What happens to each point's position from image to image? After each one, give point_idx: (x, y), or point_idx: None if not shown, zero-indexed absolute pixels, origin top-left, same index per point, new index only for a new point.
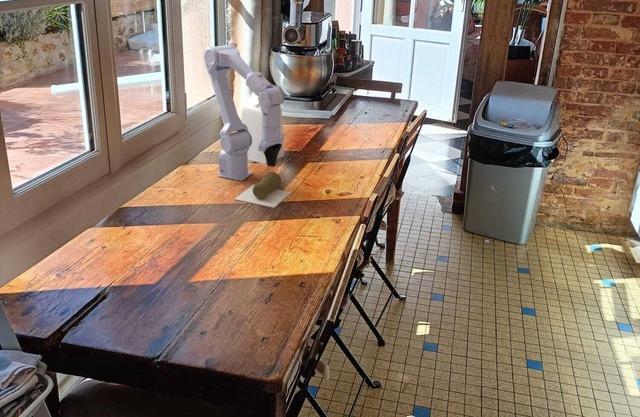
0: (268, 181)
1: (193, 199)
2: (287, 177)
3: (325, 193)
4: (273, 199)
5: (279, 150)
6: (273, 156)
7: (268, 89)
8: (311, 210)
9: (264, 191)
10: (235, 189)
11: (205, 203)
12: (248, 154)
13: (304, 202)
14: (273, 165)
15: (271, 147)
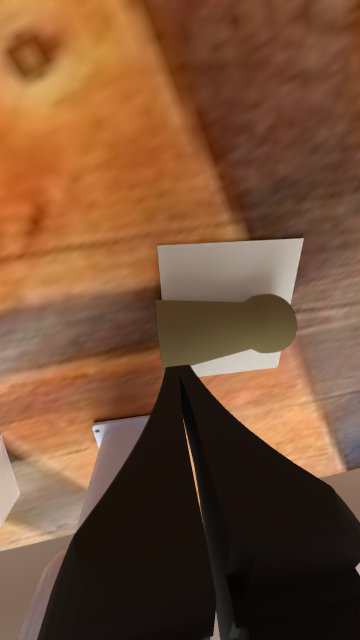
0: (236, 326)
1: (296, 425)
2: (37, 330)
3: (64, 61)
4: (246, 272)
5: (127, 467)
6: (237, 423)
7: None
8: (289, 52)
9: (287, 302)
10: (214, 396)
11: (310, 400)
12: (1, 496)
13: (219, 138)
14: (192, 369)
15: (339, 600)
